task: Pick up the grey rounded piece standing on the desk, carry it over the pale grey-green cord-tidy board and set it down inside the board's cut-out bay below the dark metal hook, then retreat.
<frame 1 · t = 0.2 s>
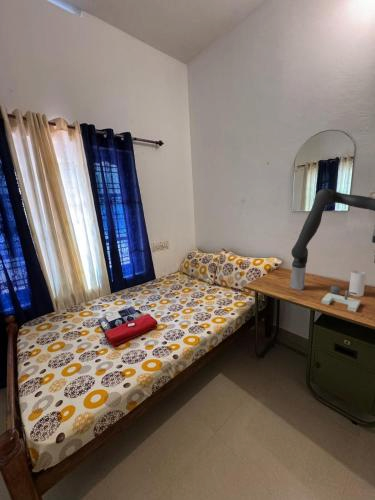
grey rounded piece: (334, 295, 152), on the table
tidy board: (340, 303, 140), on the table
cup: (355, 294, 152), on the table
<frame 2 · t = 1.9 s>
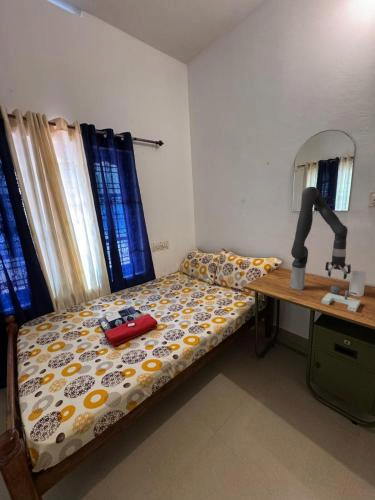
hand: (336, 277, 149), 13 cm above the table, fingers open, 8 cm apart
nothing on the table moved.
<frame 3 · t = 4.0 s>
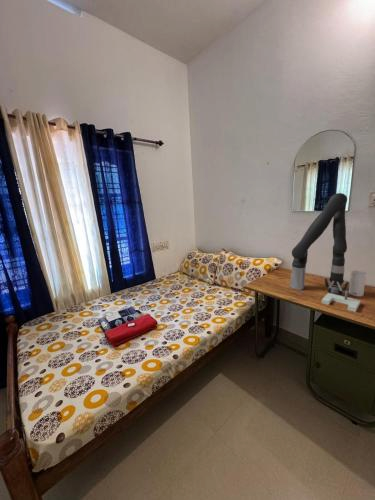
hand: (334, 294, 152), 1 cm above the table, fingers closed on grey rounded piece, 5 cm apart
grey rounded piece: (334, 294, 152), on the table, touching gripper
everything else where it was.
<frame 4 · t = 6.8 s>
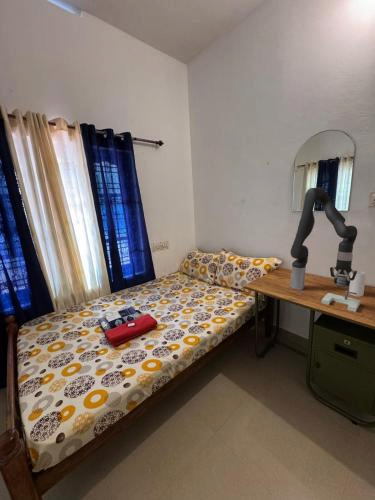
hand: (341, 284, 135), 14 cm above the table, fingers closed on grey rounded piece, 5 cm apart
grey rounded piece: (341, 285, 135), point 13 cm above the table, touching gripper
everything else where it was.
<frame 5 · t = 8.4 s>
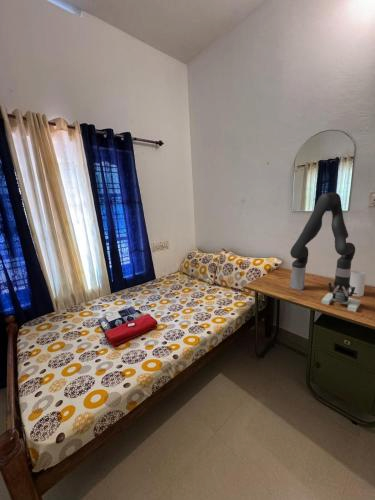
hand: (340, 300, 137), 4 cm above the table, fingers closed on grey rounded piece, 5 cm apart
grey rounded piece: (340, 301, 137), point 3 cm above the table, touching gripper
everything else where it was.
when the fingers open (2 cm above the table, at t = 9.6 s): grey rounded piece drops 2 cm, on the table.
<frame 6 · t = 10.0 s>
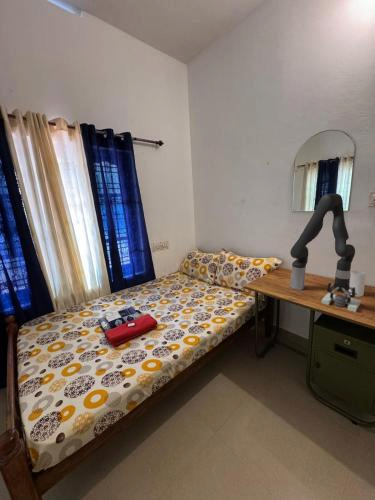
hand: (339, 300, 137), 3 cm above the table, fingers open, 8 cm apart
grey rounded piece: (339, 305, 138), on the table
everything else where it was.
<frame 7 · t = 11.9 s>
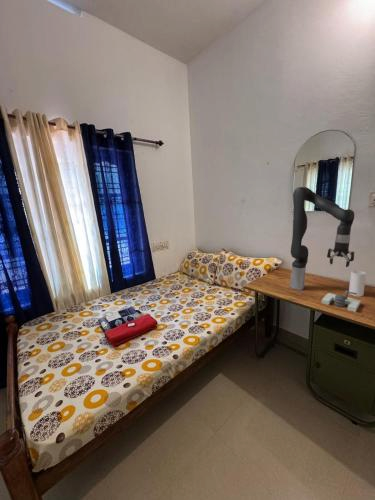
hand: (339, 265, 142), 24 cm above the table, fingers open, 8 cm apart
nothing on the table moved.
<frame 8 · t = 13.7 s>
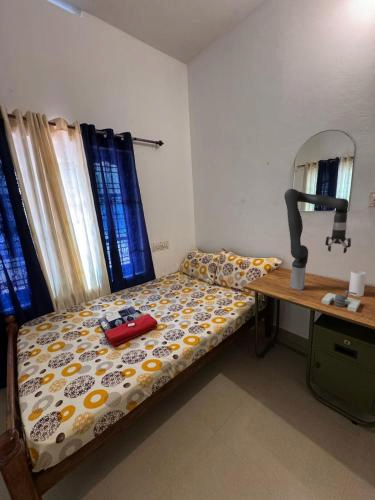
hand: (336, 252, 149), 30 cm above the table, fingers open, 8 cm apart
nothing on the table moved.
at the end: grey rounded piece 0.0 cm from the target spot, on the table; grey rounded piece tilted 0°; the gripper is holding nothing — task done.
